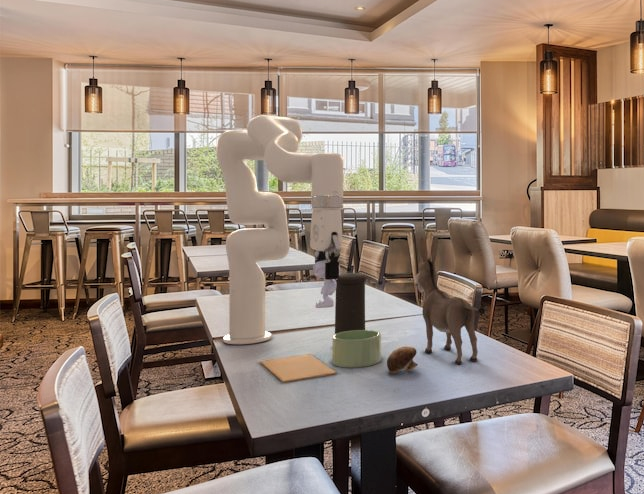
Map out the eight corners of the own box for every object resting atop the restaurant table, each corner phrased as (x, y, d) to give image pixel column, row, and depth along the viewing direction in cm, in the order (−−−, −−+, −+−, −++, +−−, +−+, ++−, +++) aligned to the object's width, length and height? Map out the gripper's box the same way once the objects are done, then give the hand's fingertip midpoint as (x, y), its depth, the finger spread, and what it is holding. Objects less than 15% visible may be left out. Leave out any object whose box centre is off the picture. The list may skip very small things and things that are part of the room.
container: (370, 343, 173) (370, 271, 173) (360, 351, 164) (360, 275, 164) (340, 342, 173) (340, 271, 174) (328, 350, 165) (328, 275, 165)
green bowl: (326, 359, 155) (326, 333, 156) (369, 353, 162) (369, 327, 162) (342, 370, 146) (342, 342, 146) (388, 362, 152) (388, 336, 152)
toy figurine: (312, 304, 154) (313, 255, 154) (339, 303, 155) (340, 255, 156) (311, 309, 147) (312, 258, 147) (339, 308, 149) (340, 257, 149)
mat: (260, 362, 153) (260, 361, 153) (309, 355, 159) (309, 354, 159) (283, 382, 136) (283, 380, 136) (336, 373, 143) (336, 372, 143)
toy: (429, 340, 176) (429, 234, 176) (499, 367, 148) (499, 241, 149) (403, 344, 171) (403, 235, 171) (471, 372, 143) (471, 242, 144)
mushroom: (430, 355, 147) (414, 334, 146) (416, 376, 139) (398, 355, 139) (407, 367, 150) (391, 347, 149) (392, 388, 143) (375, 367, 142)
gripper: (300, 203, 156) (300, 274, 156) (324, 204, 142) (323, 282, 142) (329, 203, 161) (329, 272, 160) (355, 204, 146) (355, 280, 146)
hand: (326, 276), depth 151 cm, fingers closed on toy figurine, 6 cm apart
